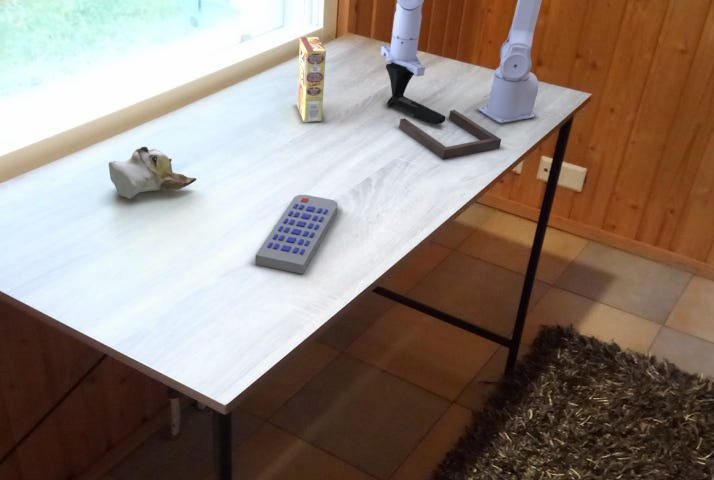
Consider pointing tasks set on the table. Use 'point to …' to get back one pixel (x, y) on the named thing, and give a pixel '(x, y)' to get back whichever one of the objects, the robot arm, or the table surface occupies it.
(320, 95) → the candy box
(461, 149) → the dock
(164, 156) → the ceramic sculpture
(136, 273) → the table surface
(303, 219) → the remote control
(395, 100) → the electric trimmer
